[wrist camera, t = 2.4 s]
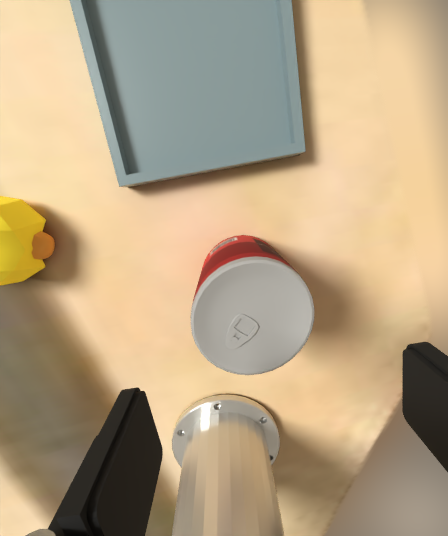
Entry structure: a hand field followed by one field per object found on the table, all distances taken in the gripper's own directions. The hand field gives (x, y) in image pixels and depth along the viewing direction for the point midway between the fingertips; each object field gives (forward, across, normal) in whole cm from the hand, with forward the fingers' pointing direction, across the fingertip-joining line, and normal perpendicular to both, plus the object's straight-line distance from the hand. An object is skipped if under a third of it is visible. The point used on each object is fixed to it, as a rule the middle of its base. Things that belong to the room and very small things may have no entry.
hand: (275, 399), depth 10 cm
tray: (+18, +1, -17) cm, 25 cm away
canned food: (+18, 0, +1) cm, 18 cm away
